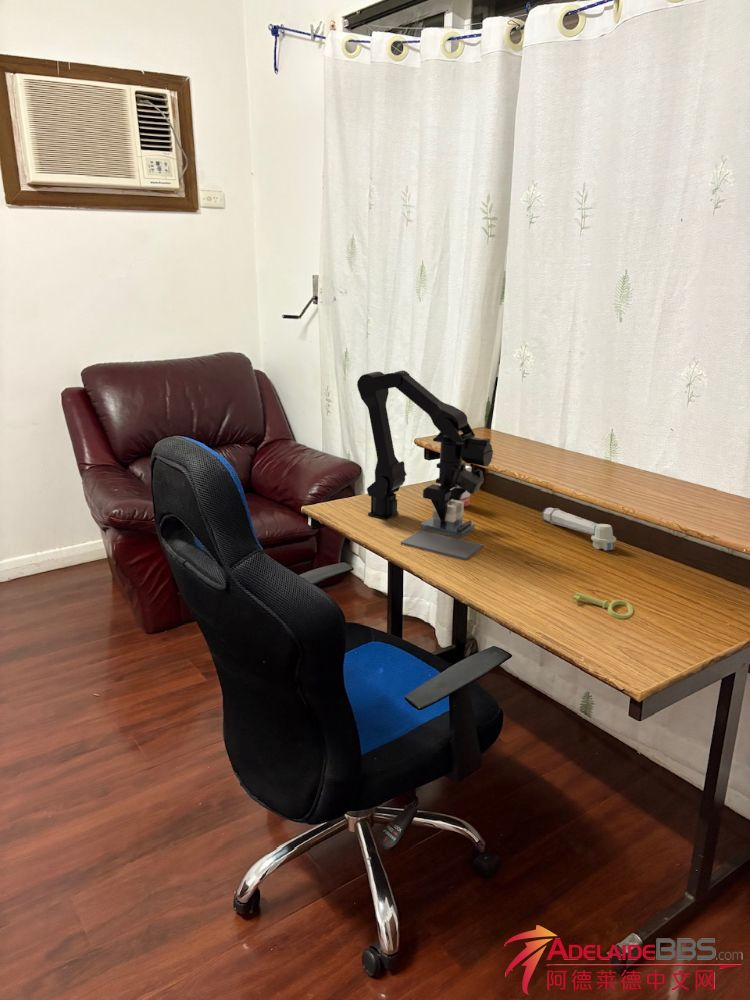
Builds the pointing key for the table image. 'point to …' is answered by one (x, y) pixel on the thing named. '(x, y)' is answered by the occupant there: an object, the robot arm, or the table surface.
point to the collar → (452, 511)
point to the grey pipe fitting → (582, 527)
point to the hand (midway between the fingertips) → (448, 516)
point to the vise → (448, 526)
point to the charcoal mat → (442, 544)
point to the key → (607, 605)
